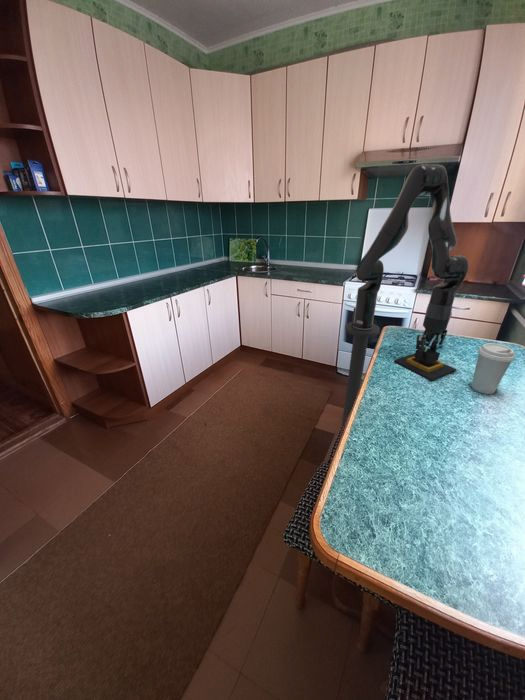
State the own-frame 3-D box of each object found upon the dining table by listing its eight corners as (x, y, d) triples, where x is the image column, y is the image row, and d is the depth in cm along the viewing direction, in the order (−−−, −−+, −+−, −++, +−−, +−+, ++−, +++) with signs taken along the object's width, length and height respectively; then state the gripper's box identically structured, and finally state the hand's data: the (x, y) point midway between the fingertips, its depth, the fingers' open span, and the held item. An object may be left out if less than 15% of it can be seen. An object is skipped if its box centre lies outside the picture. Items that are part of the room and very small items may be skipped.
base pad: (393, 362, 115) (395, 356, 113) (417, 354, 120) (418, 348, 119) (431, 381, 102) (433, 375, 101) (455, 371, 108) (457, 365, 106)
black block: (414, 357, 111) (415, 350, 109) (423, 353, 113) (425, 346, 112) (428, 363, 106) (430, 356, 105) (438, 360, 108) (440, 353, 107)
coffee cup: (473, 395, 94) (488, 354, 87) (461, 379, 103) (474, 341, 96) (506, 398, 93) (524, 356, 86) (491, 381, 101) (506, 343, 94)
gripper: (440, 308, 108) (429, 349, 115) (414, 315, 102) (404, 357, 109) (460, 314, 102) (447, 357, 109) (434, 322, 96) (422, 366, 103)
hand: (426, 357), depth 109 cm, fingers closed on black block, 5 cm apart
